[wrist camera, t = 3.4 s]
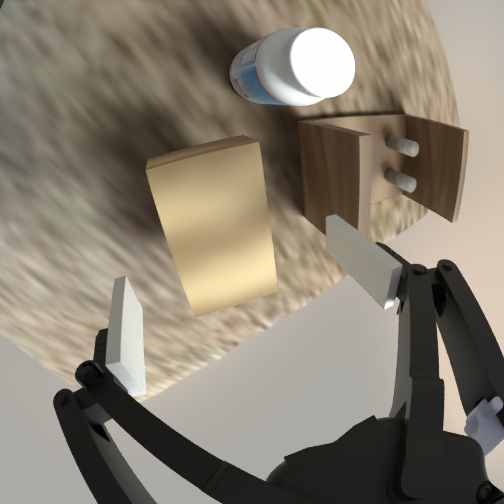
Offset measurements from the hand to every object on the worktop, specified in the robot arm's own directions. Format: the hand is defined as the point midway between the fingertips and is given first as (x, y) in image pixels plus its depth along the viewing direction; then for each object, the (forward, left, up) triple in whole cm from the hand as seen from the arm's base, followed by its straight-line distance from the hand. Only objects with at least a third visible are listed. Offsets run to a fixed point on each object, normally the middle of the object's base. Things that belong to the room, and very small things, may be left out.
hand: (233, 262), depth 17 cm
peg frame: (+19, 0, -12) cm, 22 cm away
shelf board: (0, 0, -6) cm, 6 cm away
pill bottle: (+8, +11, -12) cm, 18 cm away
